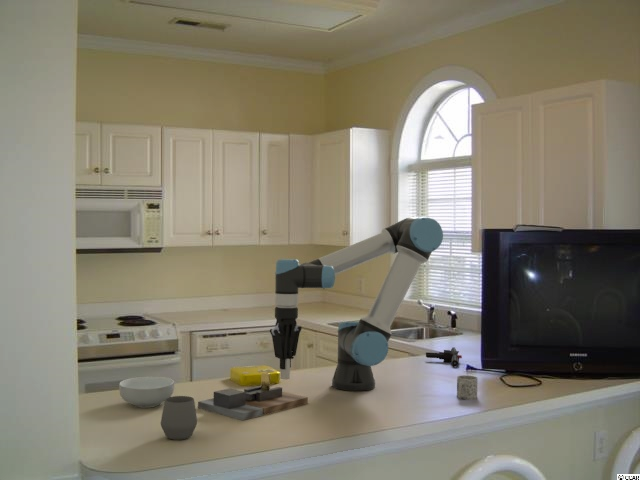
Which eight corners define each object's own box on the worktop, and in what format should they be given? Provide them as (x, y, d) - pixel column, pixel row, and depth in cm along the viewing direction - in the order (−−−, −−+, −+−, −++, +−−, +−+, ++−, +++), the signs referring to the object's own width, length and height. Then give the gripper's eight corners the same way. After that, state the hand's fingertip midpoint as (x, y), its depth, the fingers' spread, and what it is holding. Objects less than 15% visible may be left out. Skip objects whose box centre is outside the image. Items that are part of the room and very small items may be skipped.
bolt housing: (266, 392, 230) (266, 380, 230) (282, 396, 226) (282, 383, 226) (213, 405, 213) (213, 391, 213) (229, 409, 209) (229, 395, 209)
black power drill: (425, 355, 293) (462, 357, 291) (426, 343, 313) (461, 345, 310) (425, 368, 294) (462, 370, 292) (426, 355, 313) (460, 357, 311)
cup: (153, 439, 184) (153, 401, 184) (173, 430, 193) (173, 393, 193) (184, 444, 181) (185, 405, 181) (203, 434, 189) (204, 397, 189)
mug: (461, 394, 243) (462, 374, 243) (480, 396, 239) (480, 377, 239) (449, 399, 235) (449, 379, 235) (468, 402, 231) (468, 382, 231)
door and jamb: (263, 393, 239) (263, 387, 239) (307, 403, 226) (307, 397, 225) (197, 408, 217) (198, 401, 217) (242, 420, 204) (243, 413, 204)
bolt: (266, 394, 228) (266, 372, 228) (273, 395, 226) (273, 373, 226) (243, 399, 220) (244, 376, 220) (250, 400, 218) (250, 378, 218)
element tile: (266, 376, 269) (267, 363, 269) (281, 384, 255) (281, 371, 255) (228, 379, 262) (228, 366, 262) (241, 387, 249) (241, 373, 249)
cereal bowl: (115, 400, 226) (115, 378, 225) (168, 396, 232) (168, 374, 232) (123, 413, 210) (123, 389, 210) (179, 408, 216) (179, 385, 216)
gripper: (291, 304, 239) (290, 374, 239) (264, 306, 229) (262, 379, 229) (308, 306, 234) (306, 377, 234) (280, 308, 224) (279, 383, 225)
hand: (285, 378), depth 232 cm, fingers closed
